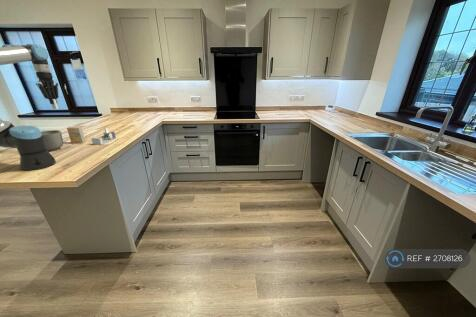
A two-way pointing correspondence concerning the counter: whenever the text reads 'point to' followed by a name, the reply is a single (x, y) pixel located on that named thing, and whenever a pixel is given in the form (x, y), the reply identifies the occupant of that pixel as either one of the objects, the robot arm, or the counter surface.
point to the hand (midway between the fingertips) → (55, 108)
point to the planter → (52, 139)
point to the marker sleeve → (107, 133)
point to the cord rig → (99, 140)
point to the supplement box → (76, 134)
